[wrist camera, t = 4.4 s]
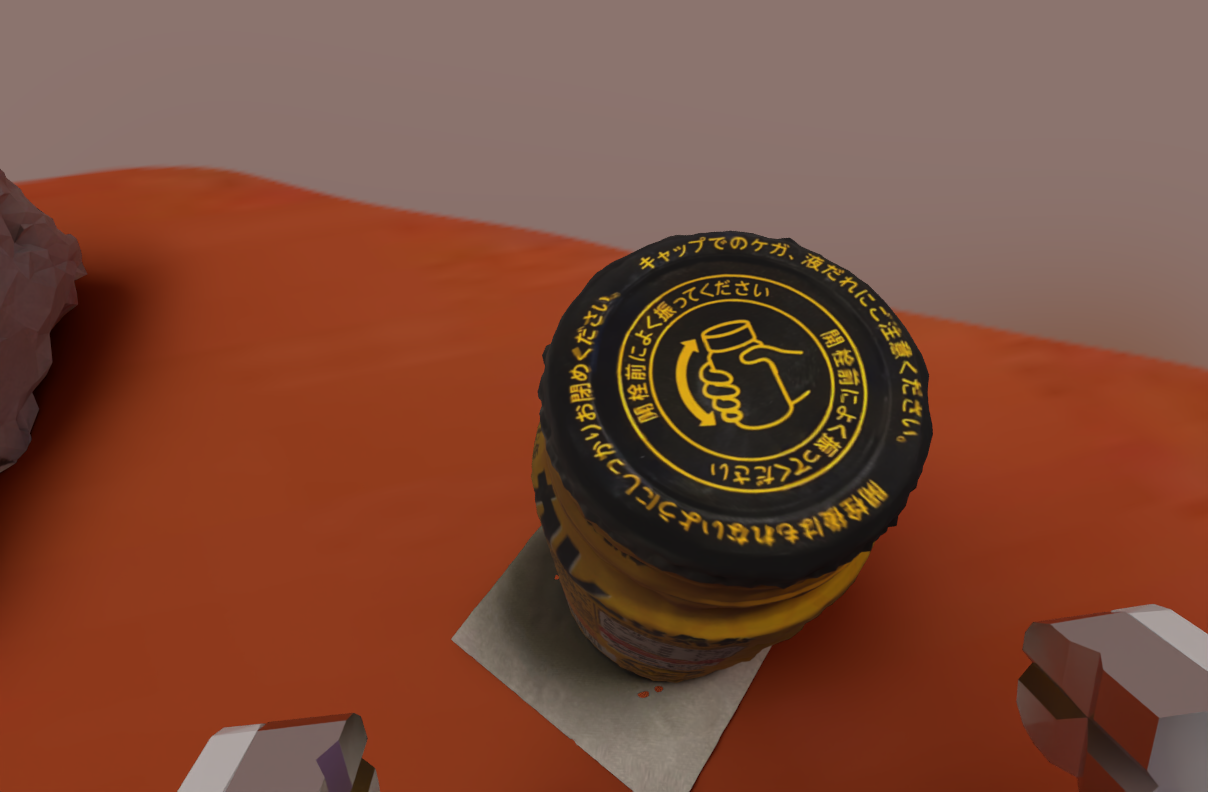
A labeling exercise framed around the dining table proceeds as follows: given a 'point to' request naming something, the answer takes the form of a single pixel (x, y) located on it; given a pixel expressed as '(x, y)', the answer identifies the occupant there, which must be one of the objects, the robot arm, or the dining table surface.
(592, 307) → the condiment
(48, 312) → the food item
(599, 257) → the dining table surface
